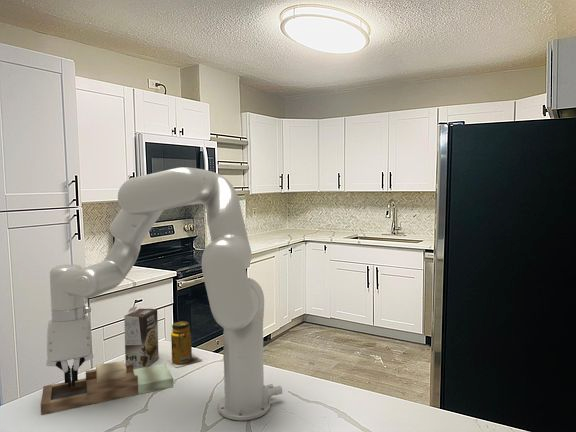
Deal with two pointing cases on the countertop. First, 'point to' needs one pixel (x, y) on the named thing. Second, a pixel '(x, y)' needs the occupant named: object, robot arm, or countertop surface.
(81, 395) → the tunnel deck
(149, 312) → the coffee box
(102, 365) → the birch block
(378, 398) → the countertop surface
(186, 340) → the condiment
